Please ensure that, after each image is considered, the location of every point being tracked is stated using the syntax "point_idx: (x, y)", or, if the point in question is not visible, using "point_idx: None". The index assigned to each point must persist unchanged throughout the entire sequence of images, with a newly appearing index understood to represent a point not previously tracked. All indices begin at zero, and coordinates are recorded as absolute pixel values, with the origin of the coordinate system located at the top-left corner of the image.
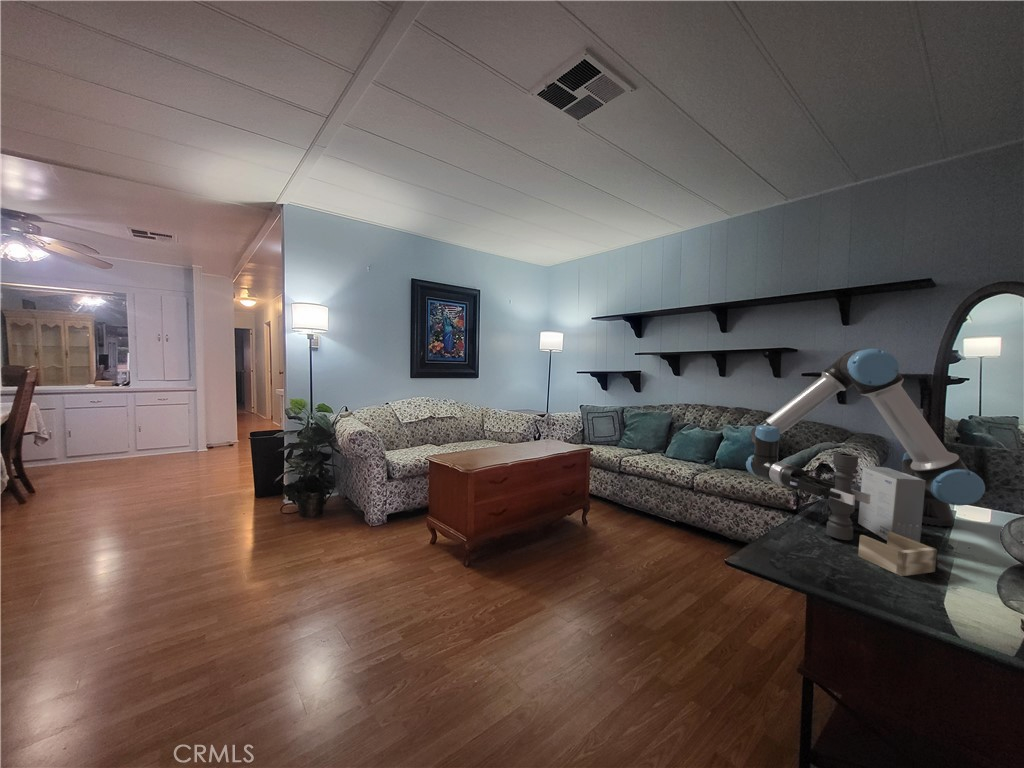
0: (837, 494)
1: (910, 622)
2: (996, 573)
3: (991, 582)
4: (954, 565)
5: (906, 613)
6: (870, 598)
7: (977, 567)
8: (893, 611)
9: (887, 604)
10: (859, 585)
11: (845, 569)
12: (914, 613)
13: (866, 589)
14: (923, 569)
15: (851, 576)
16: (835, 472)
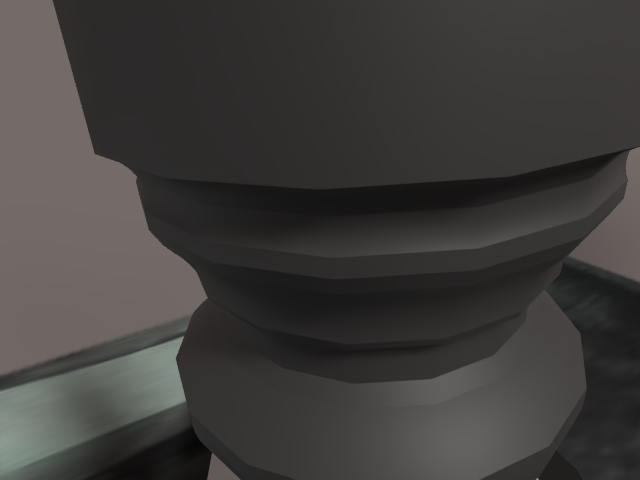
0: (562, 458)
1: (589, 267)
2: (45, 384)
3: (155, 351)
4: (100, 431)
5: (574, 282)
6: (633, 317)
7: (37, 415)
8: (603, 286)
9: (599, 301)
10: (630, 358)
11: (625, 436)
12: (552, 282)
13: (618, 343)
14: None
15: (628, 397)
16: (551, 340)
